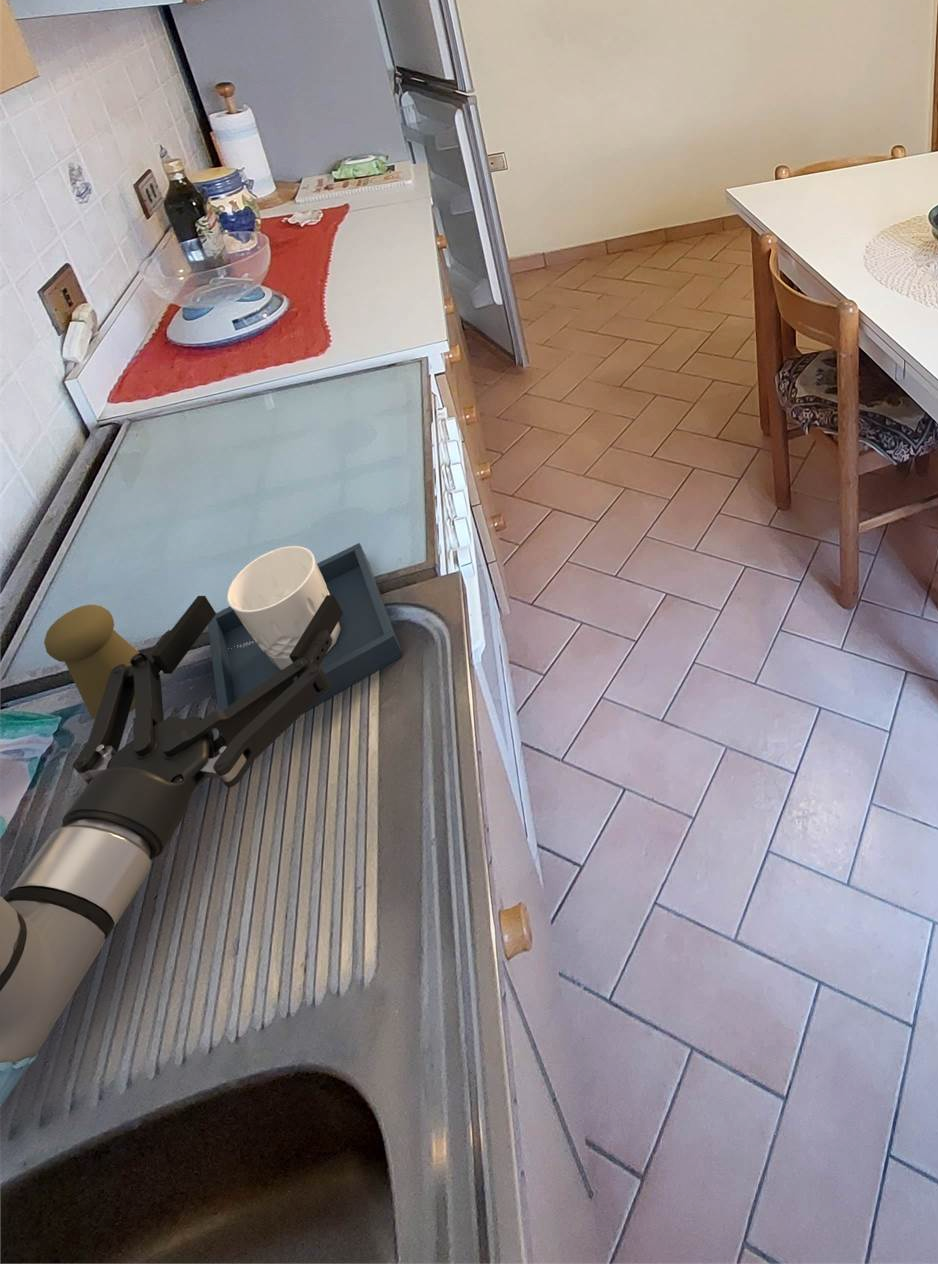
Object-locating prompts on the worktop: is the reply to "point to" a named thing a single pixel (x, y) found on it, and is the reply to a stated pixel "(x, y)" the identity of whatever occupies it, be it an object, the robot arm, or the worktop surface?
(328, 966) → the worktop surface
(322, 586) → the white cup
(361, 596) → the shallow grey tray
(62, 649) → the cork
